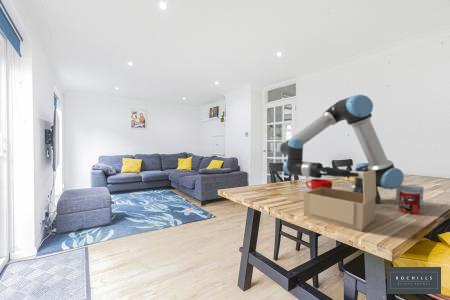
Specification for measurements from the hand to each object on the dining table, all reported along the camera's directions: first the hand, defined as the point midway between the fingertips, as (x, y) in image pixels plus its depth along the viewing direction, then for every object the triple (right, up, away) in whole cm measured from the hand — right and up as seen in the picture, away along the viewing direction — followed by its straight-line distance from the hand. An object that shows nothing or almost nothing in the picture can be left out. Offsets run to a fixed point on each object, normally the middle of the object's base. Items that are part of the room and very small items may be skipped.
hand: (367, 175), depth 88 cm
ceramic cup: (+2, -20, +52) cm, 56 cm away
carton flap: (+1, -4, +1) cm, 4 cm away
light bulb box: (+49, -21, +36) cm, 64 cm away
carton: (-7, -21, +10) cm, 24 cm away
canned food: (+34, -21, +19) cm, 45 cm away
